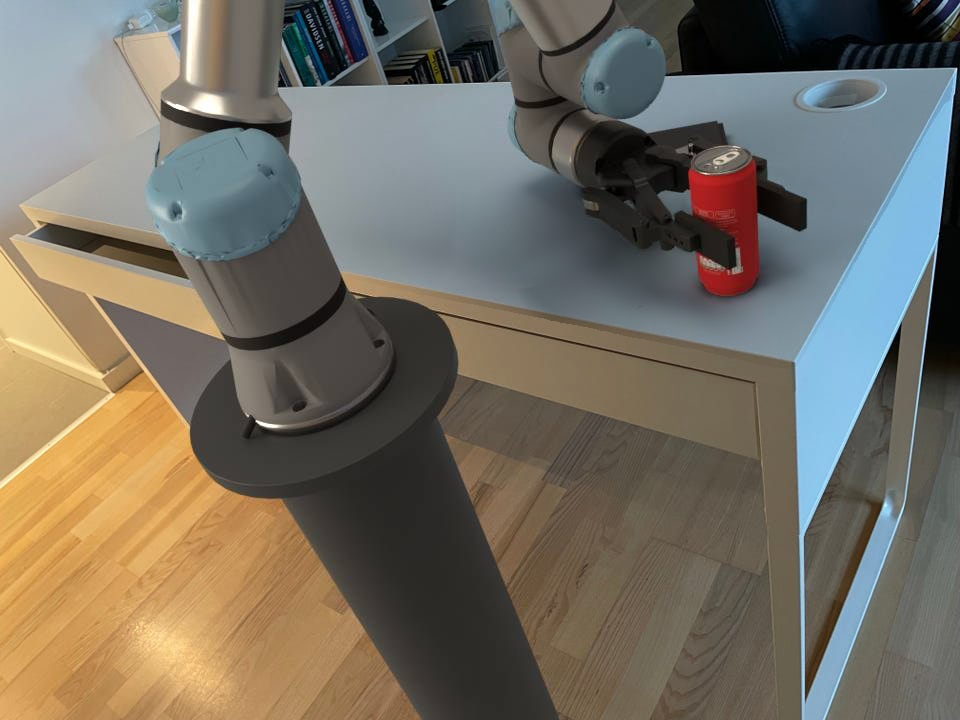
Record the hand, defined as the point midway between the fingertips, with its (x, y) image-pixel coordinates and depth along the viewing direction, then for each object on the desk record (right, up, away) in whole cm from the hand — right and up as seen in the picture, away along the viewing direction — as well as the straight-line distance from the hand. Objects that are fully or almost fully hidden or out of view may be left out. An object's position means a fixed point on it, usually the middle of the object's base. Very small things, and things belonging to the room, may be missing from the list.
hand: (767, 234), depth 61 cm
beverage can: (0, -3, +8) cm, 9 cm away
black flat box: (-2, +13, +28) cm, 31 cm away
